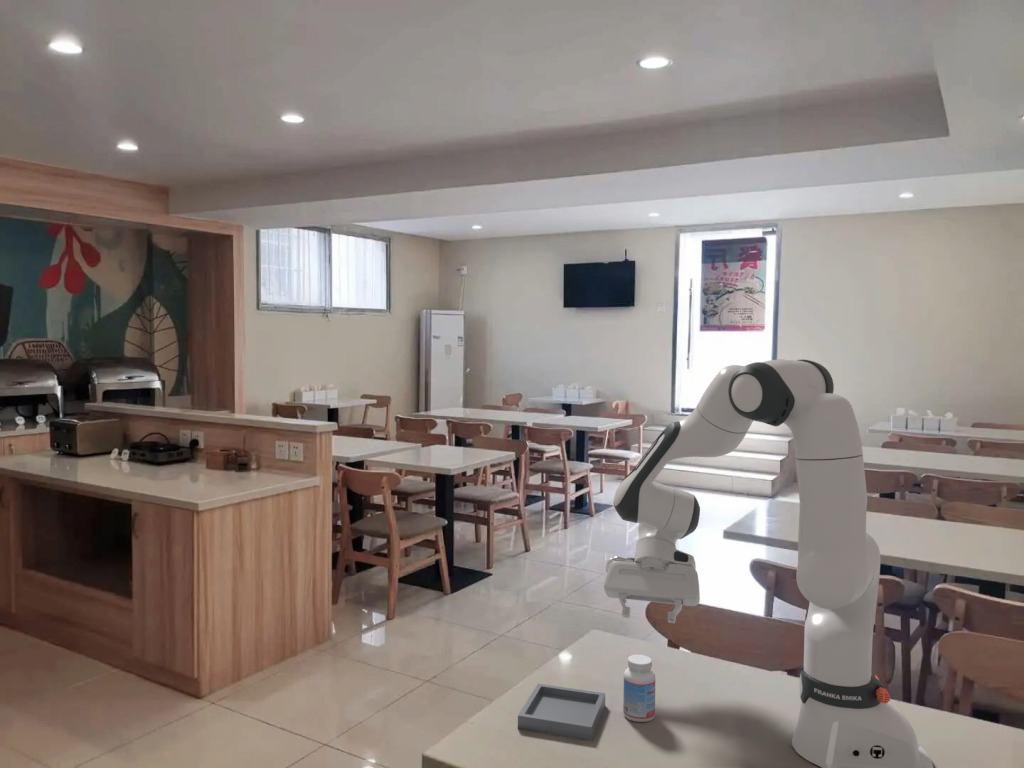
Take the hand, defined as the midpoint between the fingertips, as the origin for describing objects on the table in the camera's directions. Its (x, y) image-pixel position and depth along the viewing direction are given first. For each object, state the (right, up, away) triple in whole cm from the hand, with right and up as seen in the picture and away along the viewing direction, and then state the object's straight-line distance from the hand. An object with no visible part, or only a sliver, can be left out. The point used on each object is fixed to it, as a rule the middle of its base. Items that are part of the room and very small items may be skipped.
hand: (648, 619), depth 158 cm
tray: (-19, -15, -11) cm, 27 cm away
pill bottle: (-4, -16, -11) cm, 19 cm away
